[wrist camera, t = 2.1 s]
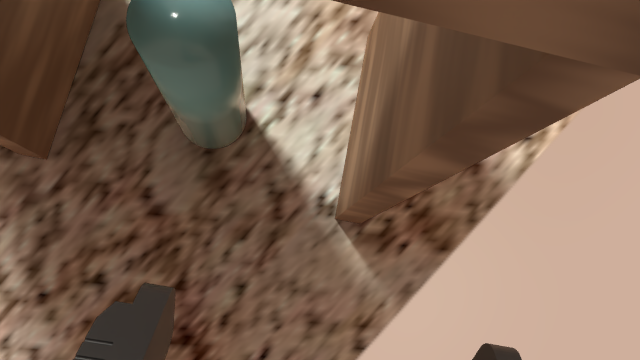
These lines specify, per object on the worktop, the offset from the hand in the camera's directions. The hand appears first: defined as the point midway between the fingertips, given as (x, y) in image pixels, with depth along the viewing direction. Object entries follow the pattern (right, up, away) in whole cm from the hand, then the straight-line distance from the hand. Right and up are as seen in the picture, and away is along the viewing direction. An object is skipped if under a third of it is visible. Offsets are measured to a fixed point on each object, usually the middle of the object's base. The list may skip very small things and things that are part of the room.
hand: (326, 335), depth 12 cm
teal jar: (-9, +9, +24) cm, 27 cm away
